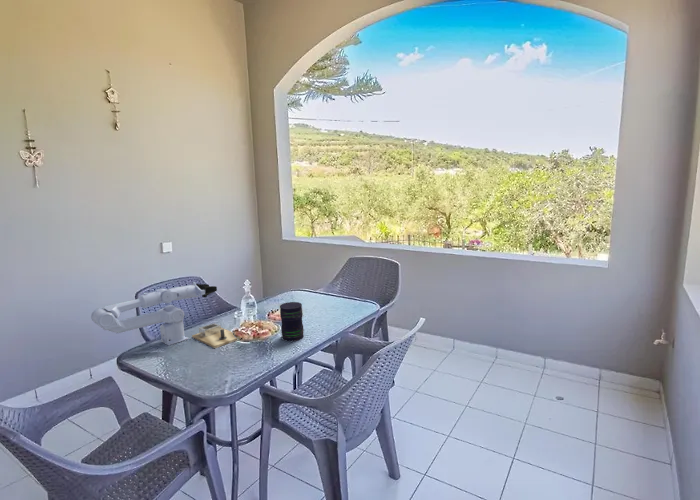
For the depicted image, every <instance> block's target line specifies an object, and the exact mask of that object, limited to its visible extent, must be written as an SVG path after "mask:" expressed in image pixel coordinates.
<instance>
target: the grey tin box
mask: <svg viewBox="0 0 700 500" xmlns="http://www.w3.org/2000/svg"><path fill="white" fill-rule="evenodd" d="M221 328H222V325H220V324H218V323H215V322H214V323H210V324H207V325H203V326H199V327H198V332H199V334H200V335H202V336H205V337H207V336H210V335H213V334H216V333H219V332H220V330H221Z"/></svg>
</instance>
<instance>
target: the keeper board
mask: <svg viewBox="0 0 700 500" xmlns="http://www.w3.org/2000/svg"><path fill="white" fill-rule="evenodd" d="M232 332H233V331H231V330H228V329H227V328H226V329H225V328H223V327H221V330H220V332H219V333H216V334H213V335H210V336H207V337H205V336H202V335H200V334H199V333H198V332H197V333H196V334H192V335H191V338H192V339H194V340H196V341H199V342H201V343H203V344H205V345H207V346H209V347H211V348H213V349H217V348H220V347H222V346H225V345H228V344H232V343H233V342H237V341H238V340H237V338H235V337H234V335H233V333H234V332H233V333H232Z"/></svg>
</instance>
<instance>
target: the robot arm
mask: <svg viewBox="0 0 700 500" xmlns="http://www.w3.org/2000/svg"><path fill="white" fill-rule="evenodd" d="M217 291H218V287H217V286H214V285H213V286H211V285H210V284H207V283H205V284H204V283H201V284H200V283H196V282H195V281H193V282H192V284H189V285H183V286H177V287H172V288H171V287H170V288H158V289H156V290H155V291H151V292H144V293H143V294H141V295H139V296H138V298H137V299H132V300H128V301H123V302H119V303H118V302H117V303H114V304H109V305H104V306H102V307H99V308H96V309H94V310H93V311H92V313H91V316H90V318H91V321H93V323H94V324H95V325H97V326H99V327H100V328H101V329H102V330H104V331H108V332H112V333H115V334H122V333H126V332H129V331H134V330H137V329H141V328H145V327H149V326H153V325H156V324H161V323H163V324H161V325H160V327H159V331H160V338H161V340H160V342H161V343H163V344H165V345H167V346H171V345H174V344H178V343H180V342H183V341H187V340H189V337H187V336H185V328H184V327H185V326H184V318H185V311H184V309H182V308H180V307H177V306H175V305H173V304H170V303H172V302H174V301H180V300H185V299H191V298H198V297H200V296H202V298H206V297H208V296H209V295H210V294H213V293H216V292H217ZM162 303H163V304H167V305H166V306H164V307H163V308H159V309H158V310H156V311H153V312H150V313H149V312H148V313H145V314H141V315H136V316H132V317H128V318H125V319H119V317H120V315H121V314H122V313H125V312H127V311H131V310H134V309H136V308H140V307H141V308H142V309H147V308H149V307H150V308H151V307H153V306H156V305H160V304H162Z"/></svg>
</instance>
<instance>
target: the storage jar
mask: <svg viewBox="0 0 700 500" xmlns="http://www.w3.org/2000/svg"><path fill="white" fill-rule="evenodd" d="M302 305H303V303H301V302H299V301H298V302H297V301H290V302H284V303H281V304H280V305H279V313H280V314H279V315H280V316H279V317H280V319H281V327H280V328H281V329H280V331H281V339H282V340H283V341H285V342H297V341H300V339H301V340H302V339H304V337H305V336H304V331H305V329H304V324H303V306H302Z"/></svg>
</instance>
